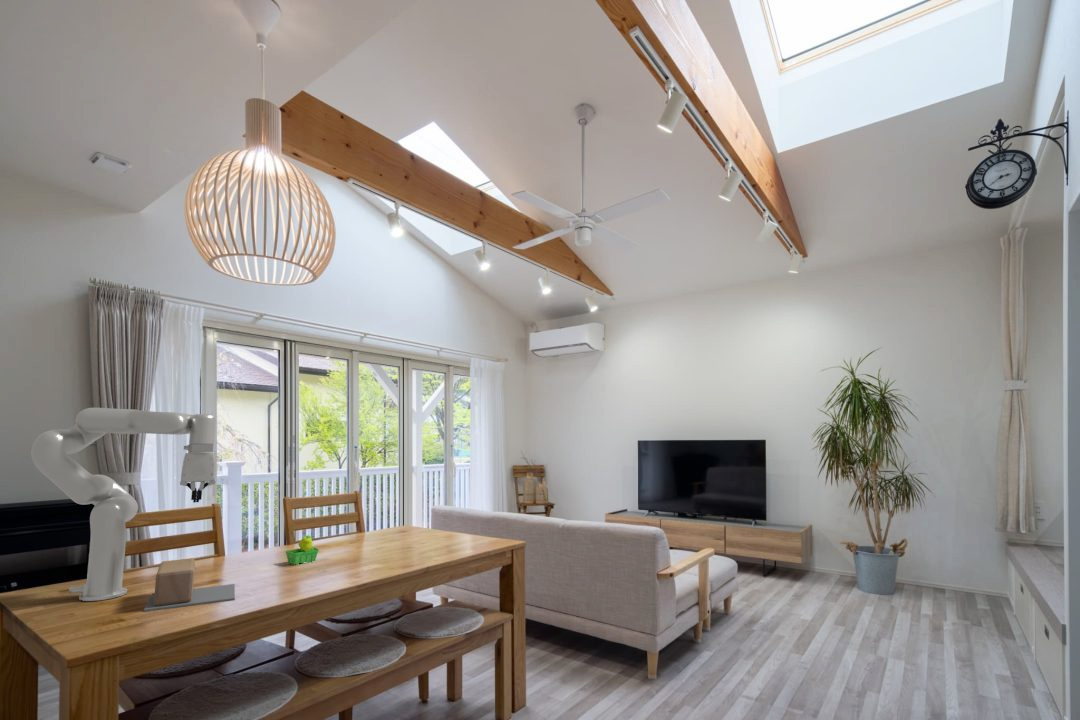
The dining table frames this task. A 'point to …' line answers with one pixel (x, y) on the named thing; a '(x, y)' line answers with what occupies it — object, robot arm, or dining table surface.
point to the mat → (200, 597)
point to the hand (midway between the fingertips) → (196, 501)
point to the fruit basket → (303, 552)
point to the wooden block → (174, 582)
